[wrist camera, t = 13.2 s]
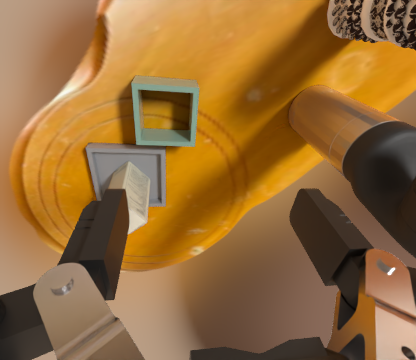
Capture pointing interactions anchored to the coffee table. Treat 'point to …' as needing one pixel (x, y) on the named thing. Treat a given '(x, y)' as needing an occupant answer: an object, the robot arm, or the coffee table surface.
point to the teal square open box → (164, 135)
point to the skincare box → (133, 193)
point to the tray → (139, 156)
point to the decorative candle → (374, 20)
